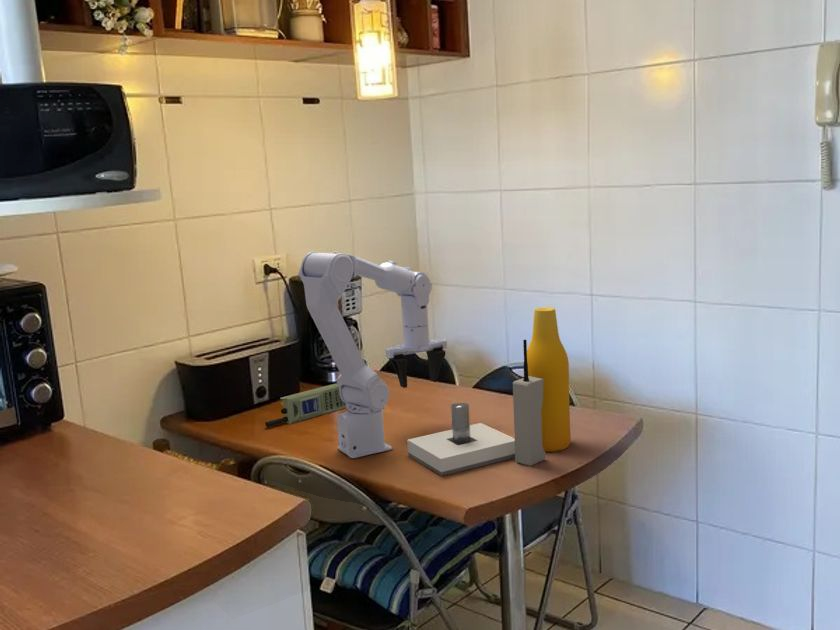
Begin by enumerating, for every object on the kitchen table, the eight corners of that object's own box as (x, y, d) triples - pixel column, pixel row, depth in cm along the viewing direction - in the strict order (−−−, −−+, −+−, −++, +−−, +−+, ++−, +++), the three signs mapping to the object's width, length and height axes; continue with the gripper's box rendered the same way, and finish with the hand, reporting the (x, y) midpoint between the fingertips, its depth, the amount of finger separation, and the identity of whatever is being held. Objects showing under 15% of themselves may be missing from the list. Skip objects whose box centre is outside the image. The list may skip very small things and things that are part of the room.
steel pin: (458, 456, 170) (456, 409, 168) (450, 451, 173) (448, 404, 171) (474, 453, 171) (472, 406, 169) (465, 448, 175) (463, 401, 173)
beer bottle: (544, 434, 183) (541, 303, 177) (579, 443, 176) (577, 307, 171) (517, 446, 176) (512, 310, 171) (552, 455, 170) (548, 314, 164)
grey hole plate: (441, 476, 162) (440, 458, 161) (408, 455, 174) (407, 439, 174) (518, 456, 170) (518, 440, 170) (481, 438, 182) (480, 422, 182)
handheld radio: (356, 406, 212) (270, 431, 196) (348, 405, 215) (263, 429, 199) (353, 381, 211) (267, 403, 195) (346, 379, 214) (260, 401, 198)
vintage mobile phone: (545, 459, 168) (542, 337, 163) (530, 466, 164) (526, 342, 160) (531, 455, 170) (527, 335, 166) (515, 462, 167) (511, 340, 162)
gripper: (393, 332, 180) (397, 393, 183) (452, 323, 187) (455, 382, 189) (380, 327, 187) (384, 386, 189) (437, 318, 193) (440, 375, 196)
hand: (418, 383), depth 190 cm, fingers open, 7 cm apart
